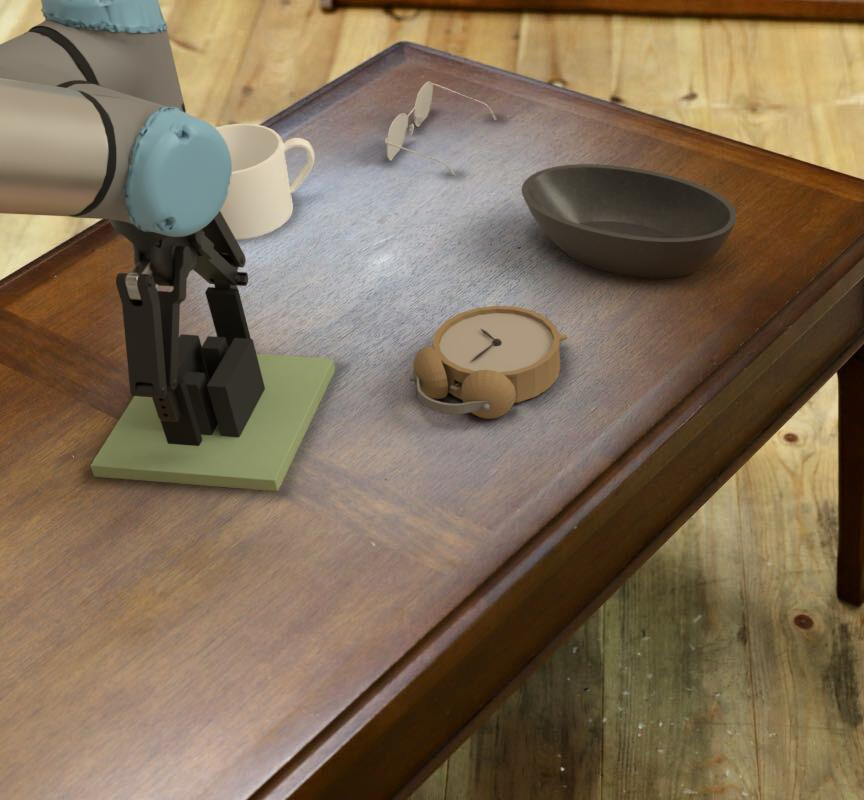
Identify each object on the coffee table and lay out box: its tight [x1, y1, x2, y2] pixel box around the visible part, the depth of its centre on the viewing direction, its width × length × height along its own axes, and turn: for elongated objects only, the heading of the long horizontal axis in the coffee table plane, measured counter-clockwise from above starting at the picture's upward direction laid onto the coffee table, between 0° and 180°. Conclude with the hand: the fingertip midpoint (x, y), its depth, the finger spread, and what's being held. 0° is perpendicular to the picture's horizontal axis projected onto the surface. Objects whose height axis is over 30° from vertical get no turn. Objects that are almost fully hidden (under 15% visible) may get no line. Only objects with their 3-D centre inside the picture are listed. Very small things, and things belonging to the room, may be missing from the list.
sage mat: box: [90, 353, 336, 492], centre depth 118 cm, size 16×16×3 cm
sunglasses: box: [384, 81, 497, 177], centre depth 154 cm, size 14×8×5 cm, turn 163°
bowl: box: [521, 163, 738, 279], centre depth 135 cm, size 12×22×6 cm, turn 65°
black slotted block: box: [178, 333, 265, 437], centre depth 117 cm, size 6×6×6 cm
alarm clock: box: [409, 305, 568, 420], centre depth 121 cm, size 11×5×15 cm
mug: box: [214, 123, 316, 241], centre depth 143 cm, size 13×10×8 cm
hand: (212, 394), depth 118 cm, fingers open, 11 cm apart
